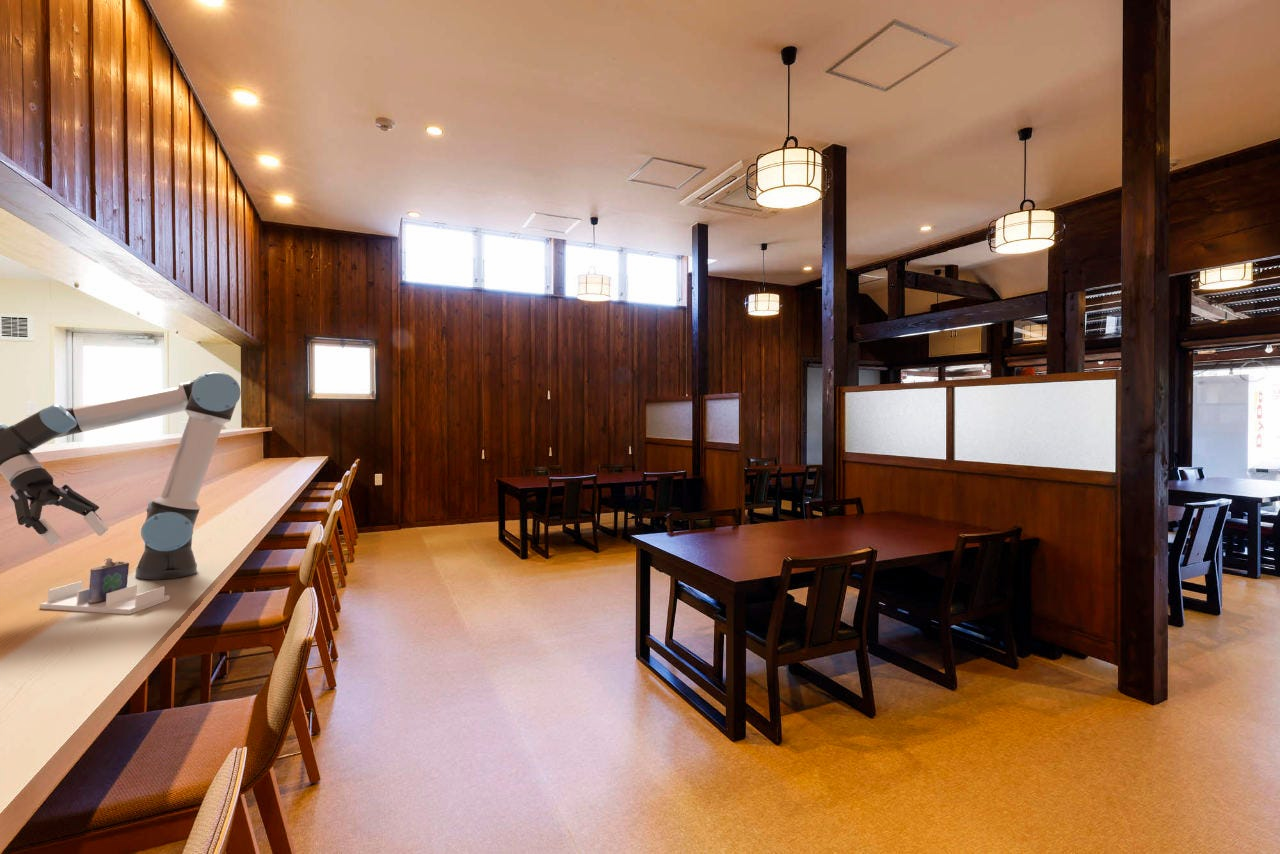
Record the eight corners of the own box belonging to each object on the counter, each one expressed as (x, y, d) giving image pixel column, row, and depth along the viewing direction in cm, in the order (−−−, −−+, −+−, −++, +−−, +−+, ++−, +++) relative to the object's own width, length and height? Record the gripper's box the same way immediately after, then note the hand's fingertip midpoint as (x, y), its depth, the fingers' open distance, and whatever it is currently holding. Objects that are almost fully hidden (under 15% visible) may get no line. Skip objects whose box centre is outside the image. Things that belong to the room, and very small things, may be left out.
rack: (86, 594, 166) (87, 579, 166) (169, 599, 166) (170, 584, 166) (39, 608, 153) (40, 591, 153) (129, 614, 153) (130, 597, 153)
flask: (93, 604, 154) (96, 562, 154) (83, 603, 155) (86, 561, 155) (129, 595, 163) (132, 555, 163) (120, 594, 164) (122, 554, 164)
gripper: (61, 481, 171) (111, 537, 171) (-37, 490, 146) (22, 556, 146) (81, 463, 171) (131, 520, 171) (-13, 469, 146) (45, 536, 146)
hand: (81, 537), depth 159 cm, fingers open, 13 cm apart
